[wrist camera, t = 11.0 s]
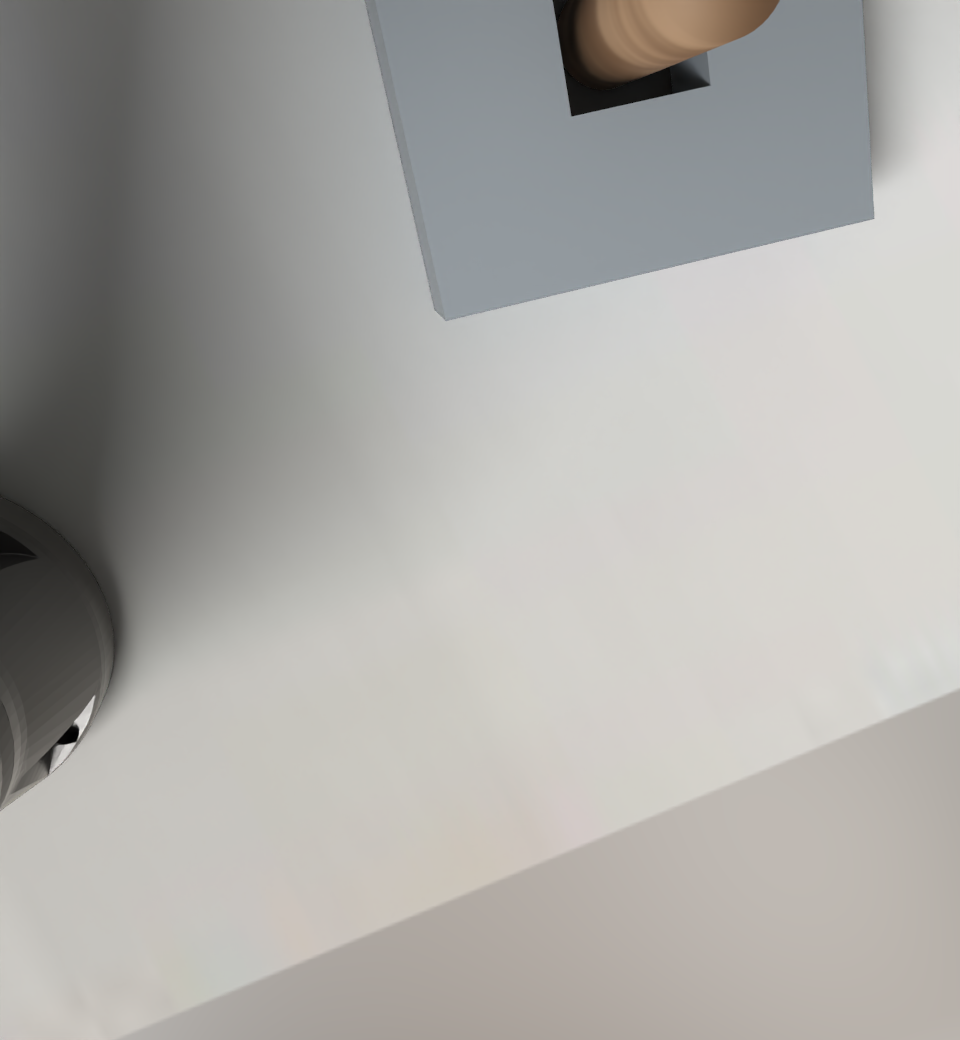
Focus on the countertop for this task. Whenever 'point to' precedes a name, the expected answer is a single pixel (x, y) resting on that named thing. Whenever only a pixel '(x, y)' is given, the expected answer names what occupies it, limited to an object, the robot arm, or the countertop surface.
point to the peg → (648, 34)
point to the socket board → (615, 148)
